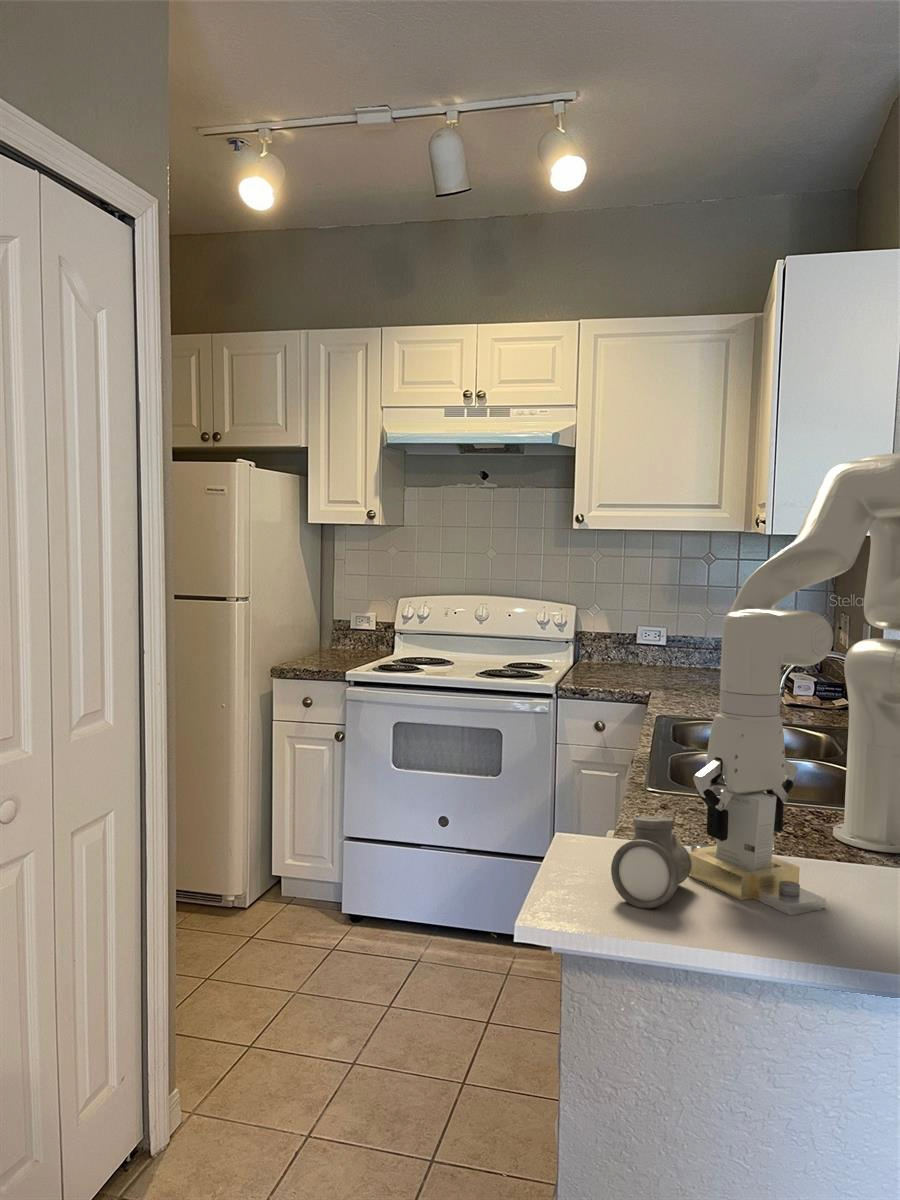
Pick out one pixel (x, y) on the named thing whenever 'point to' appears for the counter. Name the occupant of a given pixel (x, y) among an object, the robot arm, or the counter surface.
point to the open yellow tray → (755, 881)
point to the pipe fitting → (650, 863)
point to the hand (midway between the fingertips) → (744, 833)
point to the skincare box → (749, 831)
